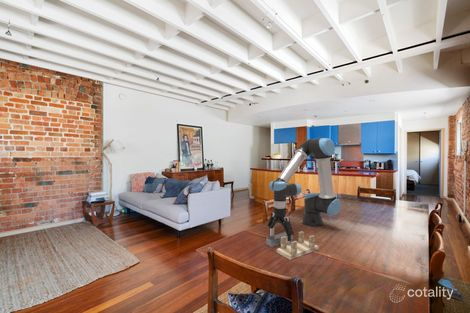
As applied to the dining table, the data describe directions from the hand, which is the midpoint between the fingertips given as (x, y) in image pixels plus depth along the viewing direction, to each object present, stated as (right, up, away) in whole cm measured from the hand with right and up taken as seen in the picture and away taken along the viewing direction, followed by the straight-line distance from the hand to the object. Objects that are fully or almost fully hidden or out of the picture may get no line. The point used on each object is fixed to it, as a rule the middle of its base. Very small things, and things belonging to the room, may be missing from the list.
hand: (279, 242), depth 136 cm
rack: (+8, 0, -12) cm, 14 cm away
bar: (0, -1, 0) cm, 1 cm away
